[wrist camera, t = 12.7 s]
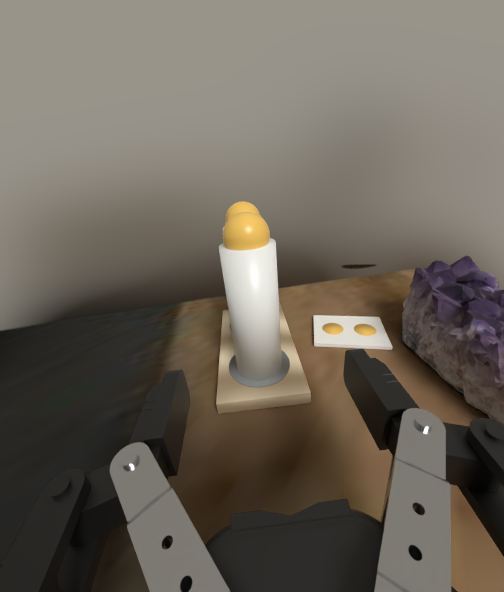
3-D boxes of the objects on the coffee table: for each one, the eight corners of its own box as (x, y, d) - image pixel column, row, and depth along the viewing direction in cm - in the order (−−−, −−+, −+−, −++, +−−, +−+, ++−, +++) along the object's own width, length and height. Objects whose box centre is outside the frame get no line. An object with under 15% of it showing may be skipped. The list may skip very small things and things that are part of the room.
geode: (356, 330, 32) (374, 248, 28) (434, 323, 34) (460, 247, 30) (589, 530, 13) (735, 370, 9) (721, 482, 16) (878, 340, 12)
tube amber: (228, 373, 25) (201, 218, 18) (249, 346, 28) (233, 207, 22) (271, 385, 23) (258, 217, 16) (288, 355, 26) (282, 206, 20)
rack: (310, 402, 22) (310, 391, 22) (218, 413, 22) (215, 403, 22) (280, 311, 37) (280, 303, 36) (224, 317, 37) (222, 309, 36)
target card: (314, 346, 29) (314, 342, 29) (313, 318, 34) (313, 314, 34) (391, 349, 28) (392, 346, 27) (378, 319, 33) (379, 316, 33)
